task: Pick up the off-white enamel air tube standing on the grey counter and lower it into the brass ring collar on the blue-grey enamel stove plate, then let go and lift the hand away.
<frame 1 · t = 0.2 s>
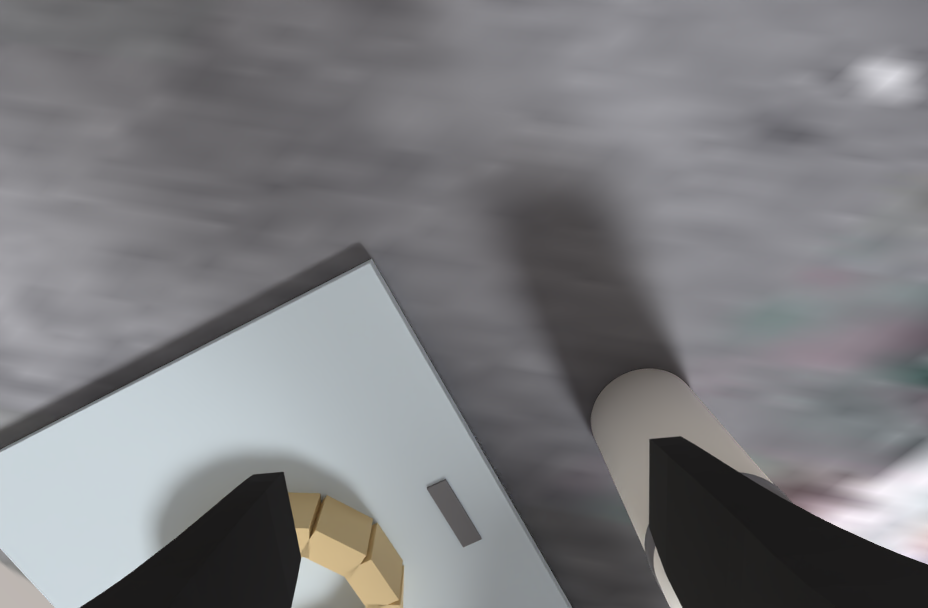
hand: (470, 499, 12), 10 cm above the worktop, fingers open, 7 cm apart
air tube: (643, 417, 23), on the worktop
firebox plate: (300, 572, 24), on the worktop
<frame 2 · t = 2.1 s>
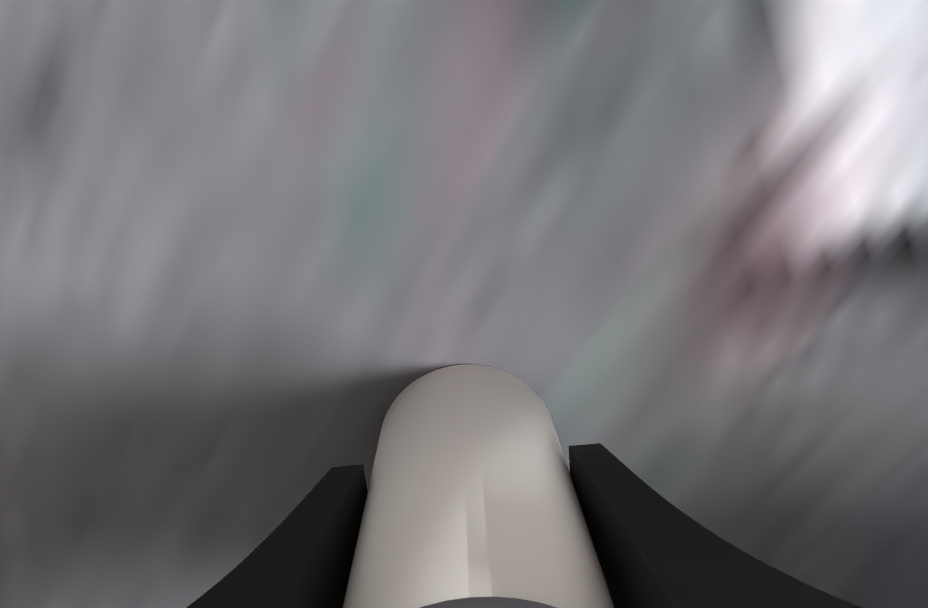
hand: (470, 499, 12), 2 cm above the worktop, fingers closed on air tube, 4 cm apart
air tube: (467, 445, 14), on the worktop, touching gripper
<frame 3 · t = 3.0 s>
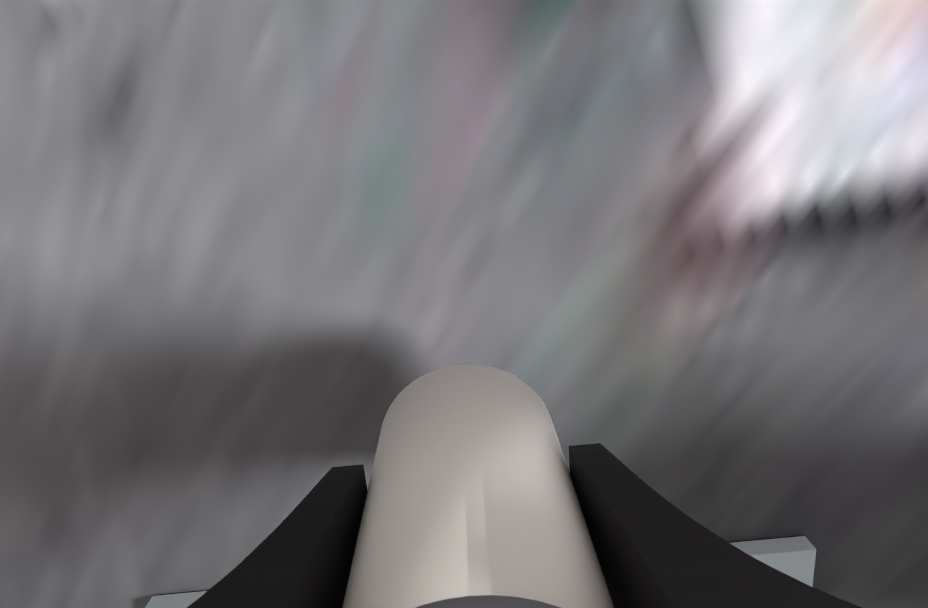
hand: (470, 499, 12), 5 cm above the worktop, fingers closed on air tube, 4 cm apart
air tube: (467, 444, 14), point 3 cm above the worktop, touching gripper
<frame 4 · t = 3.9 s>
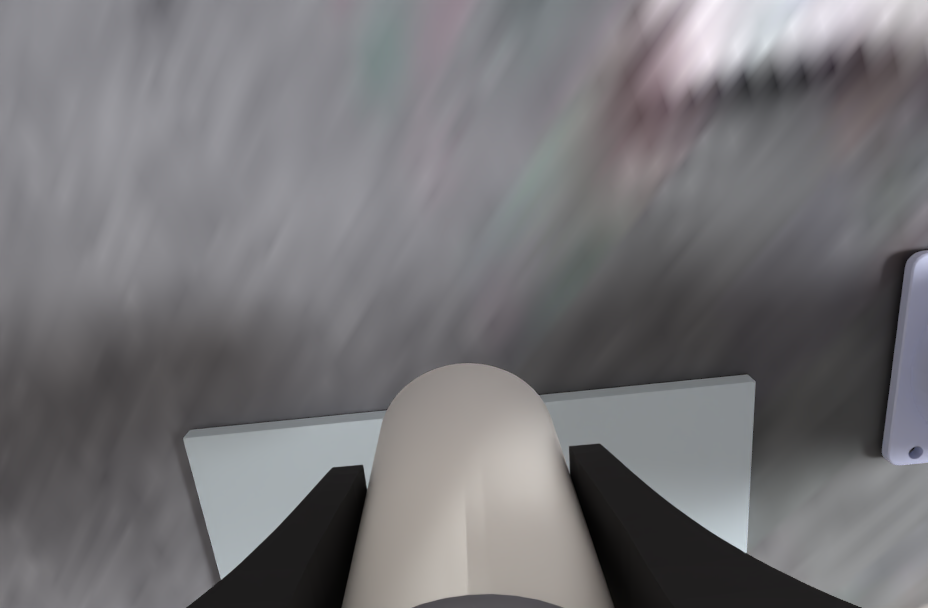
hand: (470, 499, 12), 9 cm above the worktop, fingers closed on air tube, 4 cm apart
air tube: (467, 444, 14), point 7 cm above the worktop, touching gripper
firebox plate: (489, 603, 24), on the worktop
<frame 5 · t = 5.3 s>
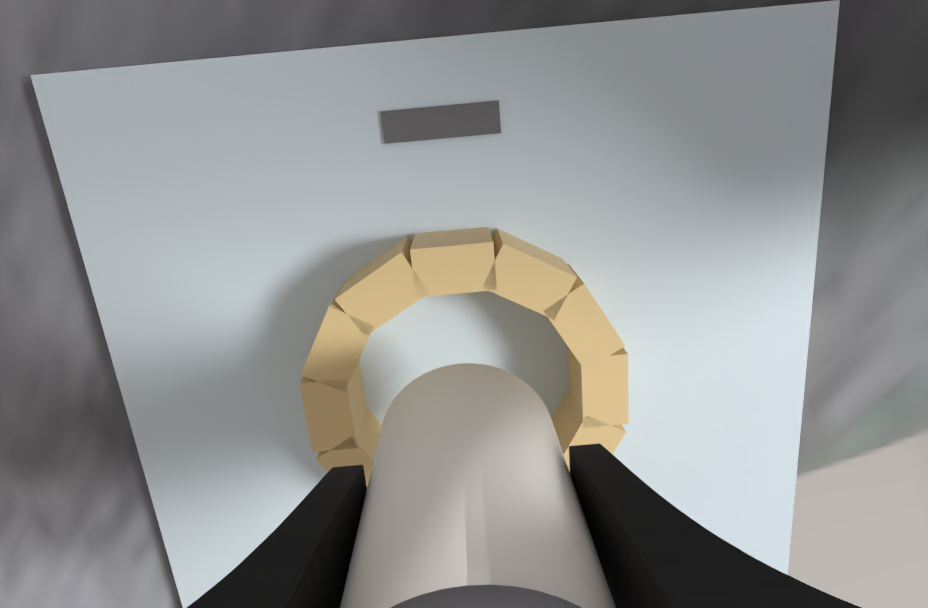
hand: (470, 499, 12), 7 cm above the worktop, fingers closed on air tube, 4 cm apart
air tube: (467, 444, 14), point 5 cm above the worktop, touching gripper
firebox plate: (464, 364, 18), on the worktop
when the fingers open (4 cm above the worktop, at t = 6.1 s): air tube drops 1 cm, resting on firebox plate.
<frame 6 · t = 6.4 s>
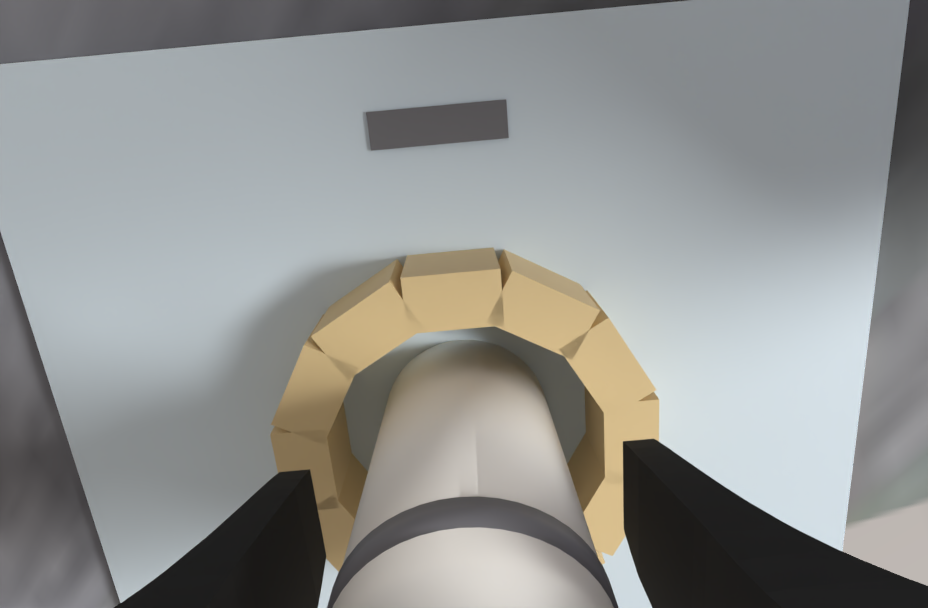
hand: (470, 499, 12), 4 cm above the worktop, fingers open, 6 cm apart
air tube: (466, 415, 15), point 1 cm above the worktop, touching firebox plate
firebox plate: (465, 403, 16), on the worktop
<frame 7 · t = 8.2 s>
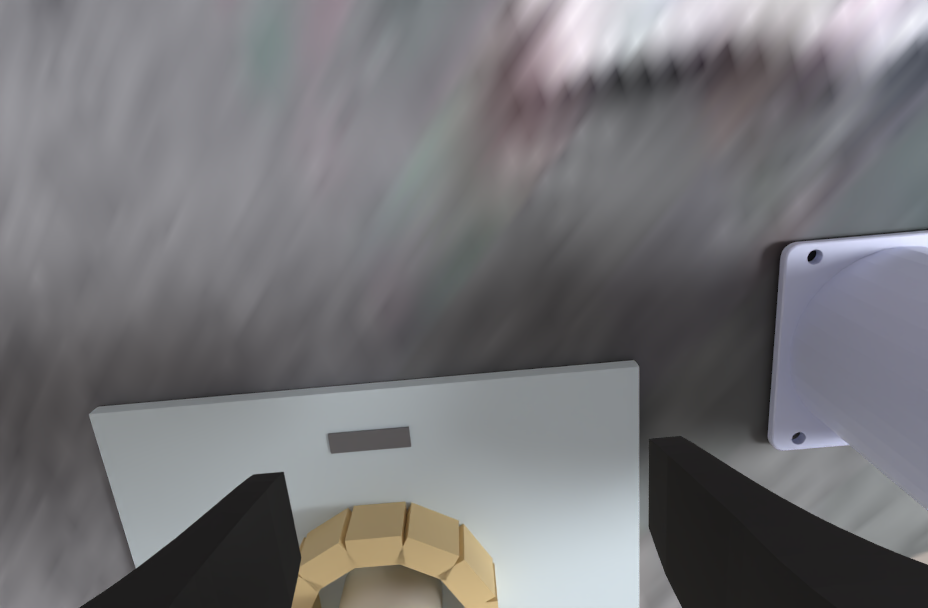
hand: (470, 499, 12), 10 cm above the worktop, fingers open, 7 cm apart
air tube: (393, 591, 25), point 1 cm above the worktop, touching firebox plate
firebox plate: (394, 580, 25), on the worktop
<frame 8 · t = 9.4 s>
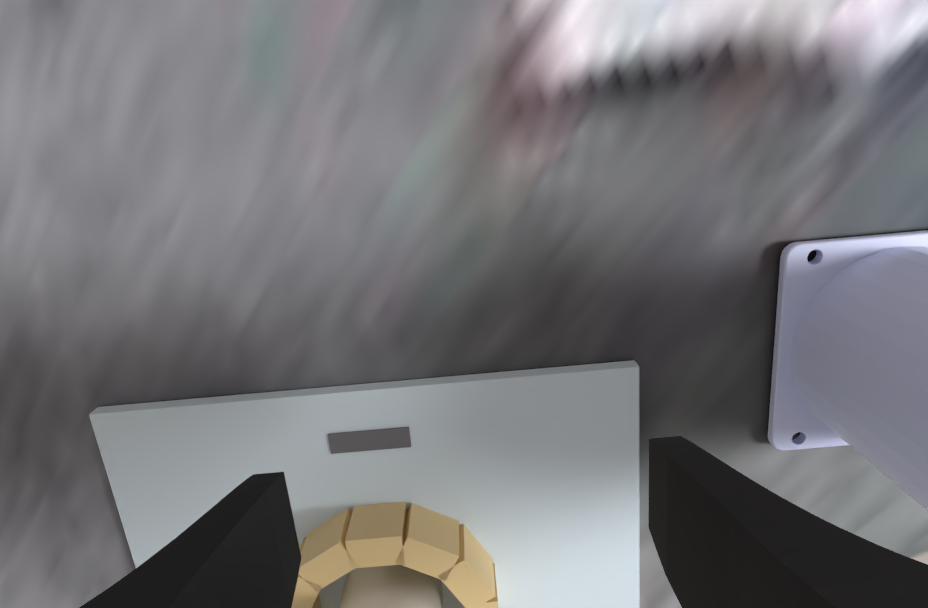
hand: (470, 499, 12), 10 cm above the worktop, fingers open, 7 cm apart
air tube: (393, 592, 25), point 1 cm above the worktop, touching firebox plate
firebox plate: (394, 580, 25), on the worktop
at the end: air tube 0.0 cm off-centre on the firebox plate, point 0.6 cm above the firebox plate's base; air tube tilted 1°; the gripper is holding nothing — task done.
